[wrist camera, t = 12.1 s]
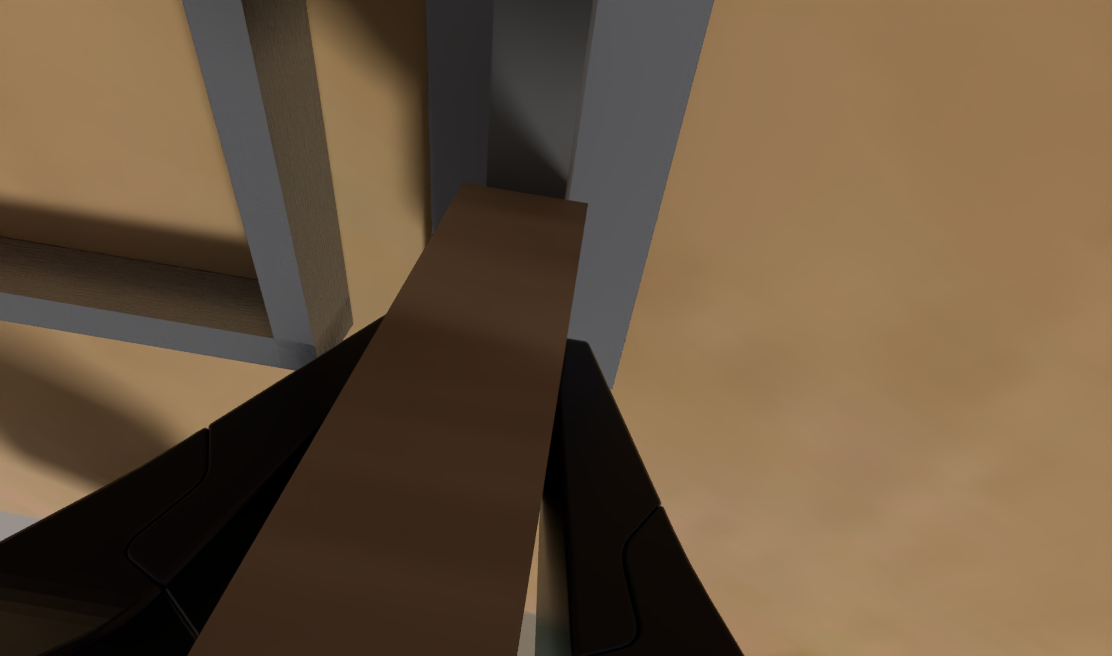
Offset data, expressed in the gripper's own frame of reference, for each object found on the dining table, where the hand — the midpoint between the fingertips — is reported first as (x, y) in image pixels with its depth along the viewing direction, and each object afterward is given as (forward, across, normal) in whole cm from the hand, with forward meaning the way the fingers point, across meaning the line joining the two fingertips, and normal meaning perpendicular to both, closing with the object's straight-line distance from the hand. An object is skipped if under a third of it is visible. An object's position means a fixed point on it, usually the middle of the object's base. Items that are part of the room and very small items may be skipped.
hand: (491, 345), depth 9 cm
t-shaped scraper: (+5, 0, 0) cm, 5 cm away
